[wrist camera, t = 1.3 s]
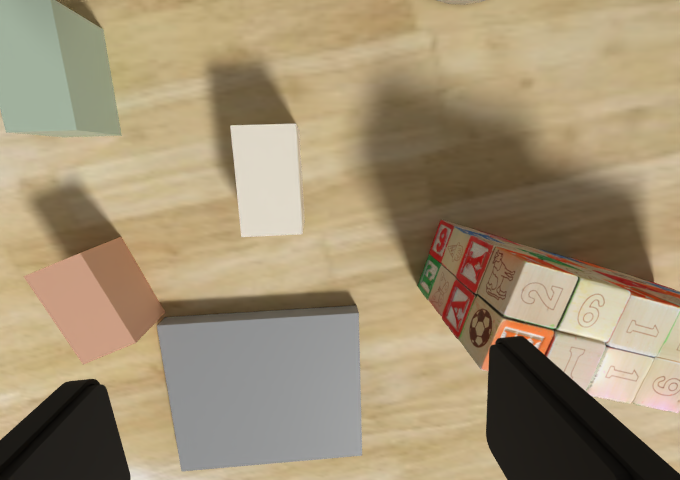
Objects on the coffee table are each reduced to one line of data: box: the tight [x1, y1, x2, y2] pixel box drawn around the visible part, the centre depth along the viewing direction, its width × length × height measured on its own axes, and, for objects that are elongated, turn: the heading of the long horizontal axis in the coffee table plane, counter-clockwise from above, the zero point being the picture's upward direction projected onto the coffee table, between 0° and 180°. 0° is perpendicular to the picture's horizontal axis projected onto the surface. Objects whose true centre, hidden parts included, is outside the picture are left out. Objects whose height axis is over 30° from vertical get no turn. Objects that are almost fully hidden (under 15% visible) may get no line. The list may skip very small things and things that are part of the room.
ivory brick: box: [230, 124, 305, 237], centre depth 24 cm, size 7×4×5 cm, turn 2°
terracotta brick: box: [24, 237, 165, 364], centre depth 26 cm, size 7×4×5 cm, turn 22°
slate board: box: [157, 305, 362, 471], centre depth 30 cm, size 14×16×2 cm
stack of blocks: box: [418, 220, 680, 413], centre depth 25 cm, size 21×6×12 cm, turn 74°
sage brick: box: [0, 0, 122, 137], centre depth 22 cm, size 7×4×5 cm, turn 2°
